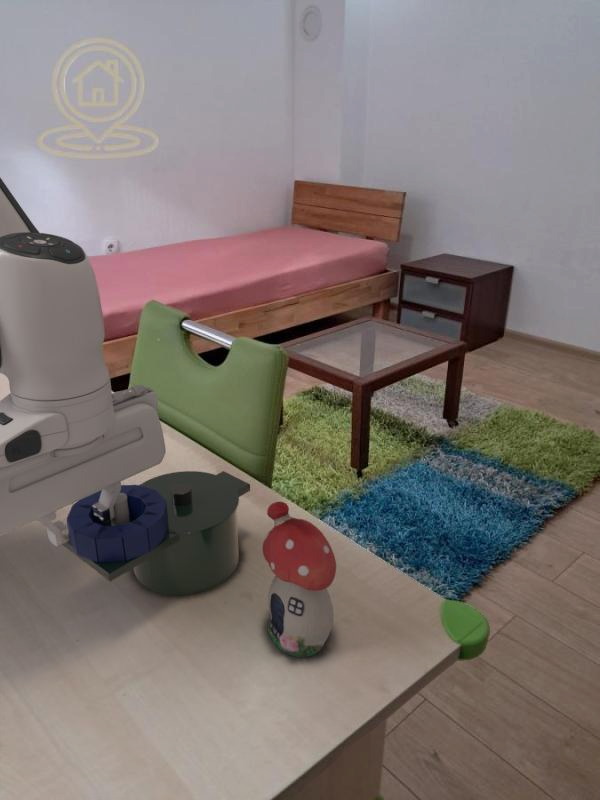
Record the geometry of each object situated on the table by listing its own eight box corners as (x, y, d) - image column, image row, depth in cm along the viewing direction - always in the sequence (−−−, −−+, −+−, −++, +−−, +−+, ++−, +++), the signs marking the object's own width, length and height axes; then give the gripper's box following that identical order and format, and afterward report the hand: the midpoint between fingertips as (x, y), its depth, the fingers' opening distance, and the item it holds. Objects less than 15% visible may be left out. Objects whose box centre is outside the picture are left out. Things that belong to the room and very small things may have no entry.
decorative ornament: (255, 611, 71) (252, 498, 65) (308, 595, 74) (310, 485, 68) (286, 672, 64) (287, 550, 57) (344, 652, 66) (351, 534, 60)
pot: (205, 509, 90) (199, 424, 84) (275, 548, 82) (274, 458, 76) (59, 590, 74) (41, 493, 69) (128, 649, 66) (114, 544, 61)
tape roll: (61, 564, 65) (56, 540, 64) (83, 508, 74) (80, 486, 73) (162, 560, 66) (159, 536, 64) (171, 504, 75) (170, 483, 74)
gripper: (136, 372, 69) (147, 480, 75) (-60, 435, 55) (-29, 562, 61) (173, 387, 65) (181, 500, 71) (-28, 459, 51) (2, 593, 57)
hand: (83, 530), depth 66 cm, fingers open, 4 cm apart
